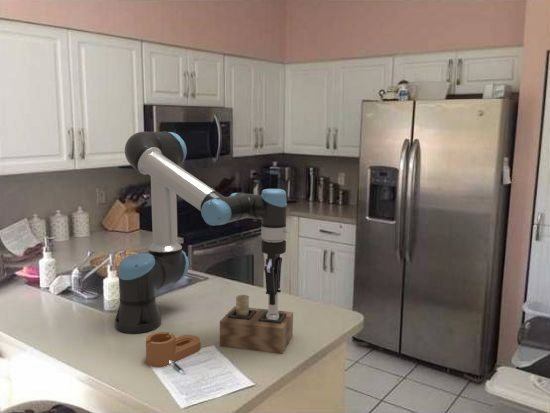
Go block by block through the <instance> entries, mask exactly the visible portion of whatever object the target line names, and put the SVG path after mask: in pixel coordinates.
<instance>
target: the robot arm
mask: <svg viewBox="0 0 550 413" xmlns="http://www.w3.org/2000/svg"><path fill="white" fill-rule="evenodd" d="M187 151H188V150H187V145H186V142H185V141H184V140H183V139H182V137H181V136H180V135H179V134H177V133H175V132H172V131H165V130H164V131H139V132H136V133H134V134H131V135H130V137H128V139H127V140H126V143H125V146H124V155H125V158H126V161H127V162H128V163H129V165H130V166H131V167H132V168H133V169H134V170H136V171H137V172H138V173H140V174H142V175H148V176H150V192H151V193H150V194H151V200H150V201H151V221H152V222H151V223H152V224H151V225H152V227H151V228H152V244H151V245H150V246H149V247H148V253H147V252H143V253H136V254H135V253H134V254H131V255H130V254H129V255H128V256H125V257H124V258H123V259H121V260H120V261H119V263H118V287H119V306H118V309H117V312H116V316H115V319H114V328H115V329H116V330H117V331H119V332H122V333H126V334H127V333H128V334H139V333H145V332H150V331H153V330H156V329H157V328H158V327H160V326H161V324H162V315H161V313H160V310H159V307H158V304H157V302H156V290H159V289H160V288H164V287H166V286H169V285H172V284H173V285H174V284H176V283H178V282H179V281H182V280H183V279H184V278H185V277H186V276H187V274H188V272H189V268H190V260H189V257H188V256H187V254H186V252H185V251H184V250H183V246H182V245H181V244H180V243H179V242H178V240H179V239H178V206H177V205H178V204H177V203H178V202H177V201H178V199H177V196H178V197H180V198H181V199H183V200H184V201H186V202H187V203H189V204H190V205H191V206H193V207H195V209H197V210H198V211H200V213H201V217H202V218H203V220H204V222H205V223H206V224H207V225H209V226H214V227H215V226H222V225H223V226H224V225H226V224H228V223H232V222H236V221H240V220H244V219H254V220H261V232H260V233H261V239H262V240H261V252H262V253H263V254H266V255H267V256H266V259H265V266H264V267H263V269H264V276H265V288H266V290H265V291H266V292H265V295H267V296H268V302H267V303H268V308H267V309H268V314H275V315H277V314H278V311H279V293H281V292H282V289H281V277H282V276H281V274H282V264H283V257H281V255H283V254H285V253H286V252H287V241H286V238H287V233H288V232H289V230H288V229H286V228H287V206H288V202H287V191H286V190H284V189H281V188H266V189H263V190H262V191H261V194H254V193H246V192H245V193H244V192H234V193H233V192H232V193H231V194H230V195H229V196H224V195H223V194H221V193H219V192H218V191H216V190H215V189H214V188H212V187H210V186H209V185H207V184H206V183H204V182H203V181H201V180H200V179H198V178H197V177H195V176H194V175H193V174H191V173H190V172H188V171H186V170H185V169H184V168H182V167H181V164H182V163H183V162H185V160H186V157H187V153H188V152H187Z"/></svg>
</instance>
